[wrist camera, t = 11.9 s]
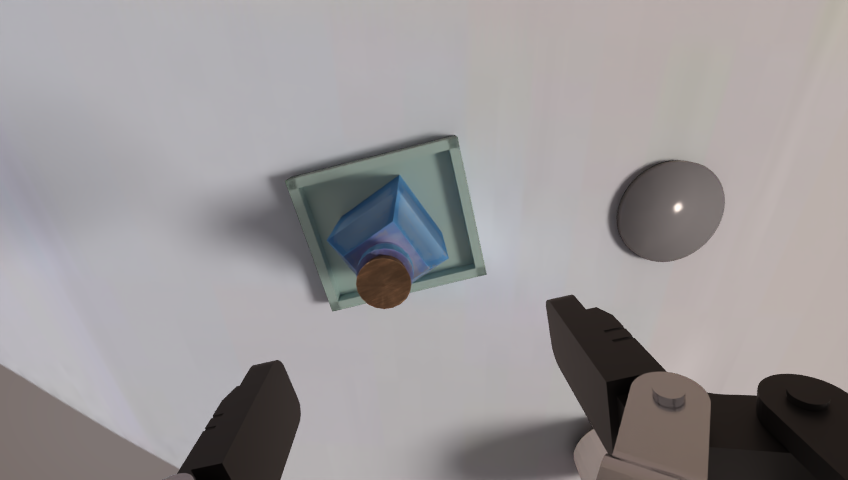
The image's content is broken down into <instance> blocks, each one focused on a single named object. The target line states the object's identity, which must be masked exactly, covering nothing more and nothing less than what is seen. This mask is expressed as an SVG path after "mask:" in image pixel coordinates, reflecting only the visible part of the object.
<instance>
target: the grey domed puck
mask: <svg viewBox="0 0 848 480" xmlns="http://www.w3.org/2000/svg"><path fill="white" fill-rule="evenodd" d="M724 205H725V197H724V191H723V187H722V185H721V183H720V181H719V179H718V178H717V176H716V175H715V174H714V173H713V172H712V171H711V170H710V169H708V168H706V167H705V166H703V165H700V164H697V163H693V162H688V161H681V160H675V161H667V162H663V163H660V164H657V165H655V166H653V167H651V168H649V169H647V170H646V171H644V172H643V173H642V174H640V175H639V176H638V177H637V178H636V179H635V180H634V181H633V182H632V183H631V184H630V185H629V187H628V188H627V190H626V191H625V193H624V195H623V197H622V199H621V202H620V204H619V208H618V214H617V226H618V231H619V234H620V236H621V238H622V240H623V242H624V243H625V245H626V246H627V247H628V248H629V249H630V250H632V251H633V252H634V253H636V254H637V255H639V256H641V257H643V258H645V259H648V260H651V261H656V262H669V261H674V260H678V259H681V258H684V257H686V256H688V255H690V254H692V253H694V252H695V251H697V250H698V249H700V248H701V247H702V246H703V245H704V244H705V243H706V242H707V241H708V240H709V239H710V238H711V237H712V235H713V234H714V233H715V231H716V229H717V228H718V226H719V224H720V221H721V219H722V216H723V212H724Z"/></svg>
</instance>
